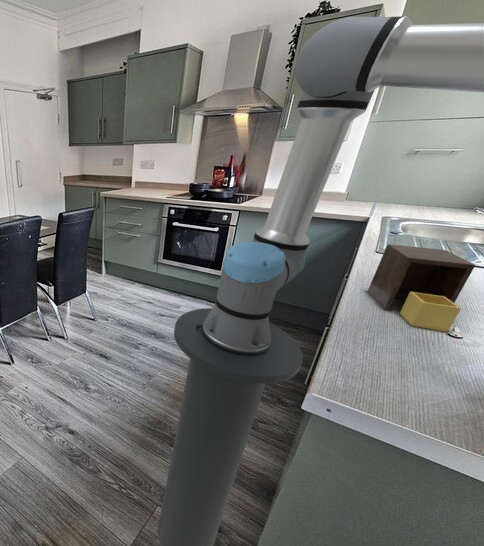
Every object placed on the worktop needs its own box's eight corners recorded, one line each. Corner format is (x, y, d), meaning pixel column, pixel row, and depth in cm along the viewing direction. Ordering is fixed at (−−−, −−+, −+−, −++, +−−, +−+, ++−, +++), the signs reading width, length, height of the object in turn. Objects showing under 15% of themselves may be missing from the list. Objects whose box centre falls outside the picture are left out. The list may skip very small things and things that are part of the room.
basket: (447, 332, 79) (461, 308, 77) (411, 325, 82) (423, 302, 79) (432, 318, 85) (444, 296, 83) (399, 313, 88) (410, 291, 85)
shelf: (445, 319, 85) (475, 265, 79) (384, 309, 90) (408, 257, 84) (420, 299, 96) (445, 249, 90) (367, 291, 101) (387, 244, 94)
